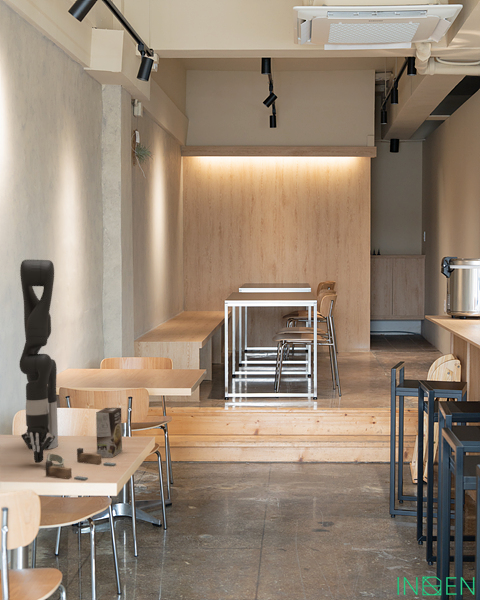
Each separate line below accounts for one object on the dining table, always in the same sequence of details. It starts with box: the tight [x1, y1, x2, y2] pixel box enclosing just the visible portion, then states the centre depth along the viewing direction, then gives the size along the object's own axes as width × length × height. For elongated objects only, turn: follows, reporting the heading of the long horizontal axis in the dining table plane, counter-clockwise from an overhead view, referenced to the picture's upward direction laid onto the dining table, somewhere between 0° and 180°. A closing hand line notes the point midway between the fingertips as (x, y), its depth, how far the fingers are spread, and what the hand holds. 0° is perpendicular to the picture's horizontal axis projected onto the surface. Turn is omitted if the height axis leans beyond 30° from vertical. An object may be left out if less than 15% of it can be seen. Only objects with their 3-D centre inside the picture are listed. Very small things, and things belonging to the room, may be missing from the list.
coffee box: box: [95, 407, 123, 458], centre depth 234 cm, size 9×6×16 cm
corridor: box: [45, 447, 102, 480], centre depth 216 cm, size 9×18×4 cm, turn 157°
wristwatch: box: [44, 453, 65, 470], centre depth 218 cm, size 9×6×5 cm
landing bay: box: [74, 461, 117, 482], centre depth 212 cm, size 4×18×1 cm, turn 157°
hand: (38, 461), depth 221 cm, fingers closed
